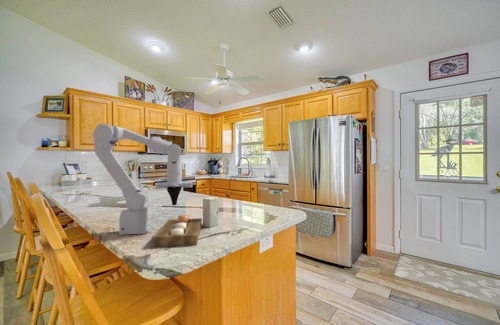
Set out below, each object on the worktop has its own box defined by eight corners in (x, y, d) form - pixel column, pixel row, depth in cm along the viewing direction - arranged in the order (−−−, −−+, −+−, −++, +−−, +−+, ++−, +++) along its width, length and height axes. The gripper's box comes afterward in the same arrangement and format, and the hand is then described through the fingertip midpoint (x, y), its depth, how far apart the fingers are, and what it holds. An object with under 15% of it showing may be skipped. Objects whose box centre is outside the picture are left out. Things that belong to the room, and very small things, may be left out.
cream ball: (174, 236, 80) (174, 225, 80) (176, 232, 85) (176, 222, 85) (185, 235, 81) (185, 225, 81) (187, 232, 85) (187, 222, 85)
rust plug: (177, 227, 87) (177, 217, 87) (179, 224, 92) (179, 214, 92) (188, 226, 88) (188, 217, 88) (189, 223, 92) (189, 214, 92)
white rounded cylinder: (169, 243, 74) (169, 231, 74) (172, 238, 78) (172, 228, 78) (182, 242, 74) (182, 231, 74) (184, 238, 78) (184, 227, 78)
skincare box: (210, 227, 92) (210, 199, 92) (202, 226, 94) (202, 198, 94) (219, 224, 97) (219, 197, 97) (211, 222, 99) (211, 196, 99)
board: (153, 247, 71) (153, 237, 71) (168, 227, 93) (168, 219, 93) (196, 244, 73) (196, 235, 73) (201, 225, 95) (201, 218, 95)
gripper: (153, 173, 86) (153, 207, 86) (191, 172, 88) (191, 206, 88) (158, 172, 93) (158, 203, 93) (192, 172, 95) (193, 202, 95)
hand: (174, 204), depth 91 cm, fingers closed
